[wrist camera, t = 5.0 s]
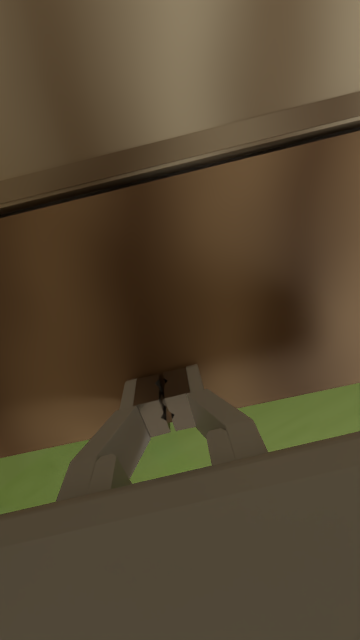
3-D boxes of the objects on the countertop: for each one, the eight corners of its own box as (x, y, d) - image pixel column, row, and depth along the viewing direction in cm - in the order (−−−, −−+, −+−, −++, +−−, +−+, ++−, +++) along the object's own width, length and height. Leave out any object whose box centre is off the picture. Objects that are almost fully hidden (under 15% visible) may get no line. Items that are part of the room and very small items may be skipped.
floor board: (475, -352, 5) (722, -799, 3) (348, 361, 15) (382, 388, 13) (-379, -92, 6) (-727, -287, 4) (32, 428, 16) (10, 466, 13)
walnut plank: (401, 133, 9) (448, 108, 7) (384, 356, 12) (414, 371, 10) (-121, 259, 9) (-175, 260, 8) (-9, 439, 12) (-32, 464, 11)
